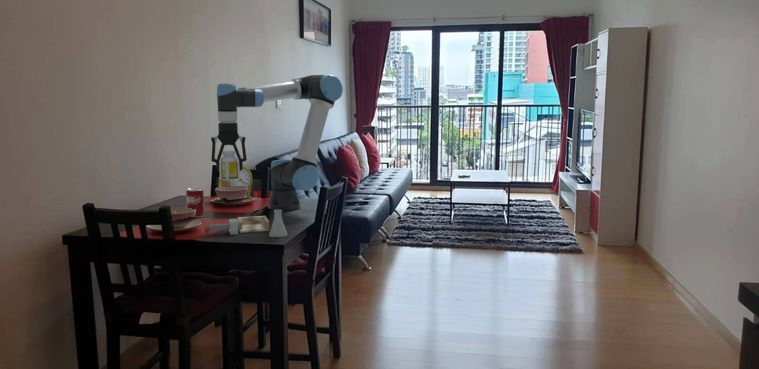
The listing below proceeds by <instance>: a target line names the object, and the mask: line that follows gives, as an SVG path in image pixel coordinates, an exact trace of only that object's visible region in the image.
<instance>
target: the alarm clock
mask: <svg viewBox="0 0 759 369" xmlns="http://www.w3.org/2000/svg"><path fill="white" fill-rule="evenodd" d="M237 168H238V167H237ZM252 174H253V173H252V172H251V170H250V168H249V167H247V166H245V165H244V163H242V170H240V179H237V180H230V181H227V180H222V179H220V175H219V177H218V180H219V181H218V183H219V187H228V186H230V187H231V186H246V187H248V194H247V196H250V197H251V193H252V185H253V175H252Z"/></svg>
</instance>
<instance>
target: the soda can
mask: <svg viewBox="0 0 759 369" xmlns="http://www.w3.org/2000/svg"><path fill="white" fill-rule="evenodd" d="M204 193H205V192H204V189H203V188H199V187H194V188H193V187H192V188H188V189H187V188H186V190H185V199H186V209H187V208H192V209H196V215H195V218H196V219H197V218H198V219H199V218H203V217H204V216H205V199H204V198H205V196H204V195H205V194H204ZM195 218H194V219H195Z"/></svg>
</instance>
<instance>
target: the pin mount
mask: <svg viewBox="0 0 759 369" xmlns="http://www.w3.org/2000/svg"><path fill="white" fill-rule="evenodd" d="M228 224H230V229H228V231H229V235H231V236H232V235H239V229H238V219H237V218H230V219H228Z"/></svg>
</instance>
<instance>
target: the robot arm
mask: <svg viewBox="0 0 759 369" xmlns="http://www.w3.org/2000/svg"><path fill="white" fill-rule="evenodd" d="M341 82H342V81H341V80H340V78H339V77H337V76H336V75H334V74H328V73H324V74H311V75H306V76H303V77H299V78H293V79H291V80H290V81H285V82H277V83H268V84H263V85H262V84H261V85H253V86H246V87H237V85H236V83H218V84H217V86H216V87H217V88H216V98H217V99H216V100H217V121H218V124H217V125H218V127H217V130H218V134H217V136H211V138H210V140H211V143H212V144H211V162H213V163H215V169H216V171H217V172H219V176H220V179H222V173H221V159H222V156H223V151H224V149H225V146H232V147H233V149H234V150H233V151H234V152H235V155H236V158H237V167H238V179H240V170H242V164H243V162H246V161H247V160H248V159H247V151H246V145H245V144H246V143H245V142H246V139H247V138H246V137H245V136H241V135H239V132H238V131H239V130H238V129H239V128H238V108H259V107H260V108H261V107H262V106H263V105H264V103H268V102H274V101H280V100H288V99H293V100H296V101H298V100H308V101H309V103H310V107H309V109H308V114H307V117H306V120H305V124H304V128H303V132H302V135H301V139H300V143H299V145H298V149H297V152H296V154H295V155H294V156H292V158H287V159H277V160H272V161H271V163H270V173H271V174H270V176H271V177H270V178H271V180H270V181H271V182H270V183H271V193H270V195H269V200H268V203H267V206H268V210H272V211H274V210H282V212H283V211H294V210H298V209H301V207H302V206H301V199H300V198H299V195H298V191H310V190H312V189H313V188H314V187H315V186H316V185H317V183H318V181H319V176H320V175H319V171H318V169H317V166H318V163H317V160H316V158H317V154H318V150H319V147H320V144H321V140H322V136H323V133H324V129H325V125H326V122H327V118H328V114H329V111H330V110H331V109H333V108H334V106H335V103H336V101H338V100H339V99H341V97H342V95H343V90H344V89H343V88H344V87H343V84H342V83H341ZM238 139H239V142H240V143H241V150H242V156H241V154H240V151H239V149H238V147H237V144H236V143H237V141H238ZM218 140H219V142H220V143H221V145H220V148H219V152H218V154H217V157H216V144H217V142H218ZM215 157H216V158H215Z"/></svg>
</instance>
